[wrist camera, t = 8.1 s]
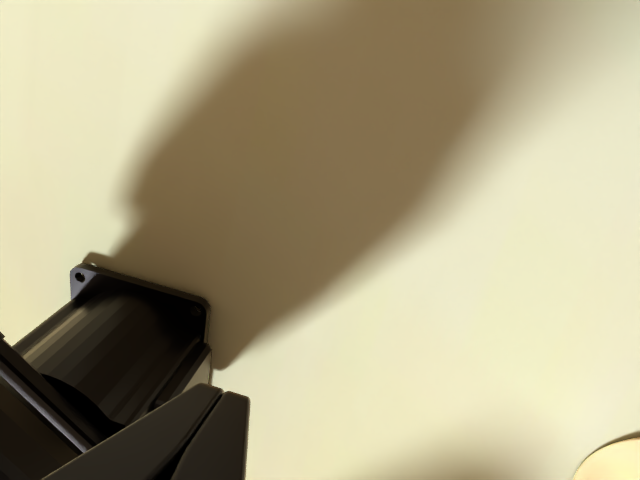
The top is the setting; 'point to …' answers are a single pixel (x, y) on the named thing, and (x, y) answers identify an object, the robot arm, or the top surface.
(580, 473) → the beer glass
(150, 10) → the top surface
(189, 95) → the top surface
